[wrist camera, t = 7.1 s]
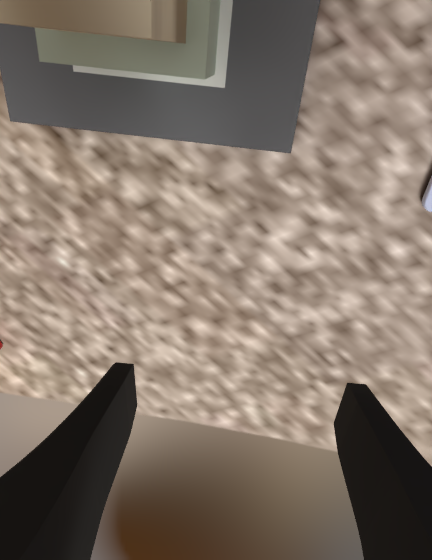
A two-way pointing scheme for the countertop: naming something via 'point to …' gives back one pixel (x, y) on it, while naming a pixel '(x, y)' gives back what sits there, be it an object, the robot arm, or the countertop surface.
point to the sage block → (141, 47)
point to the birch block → (102, 17)
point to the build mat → (178, 84)
